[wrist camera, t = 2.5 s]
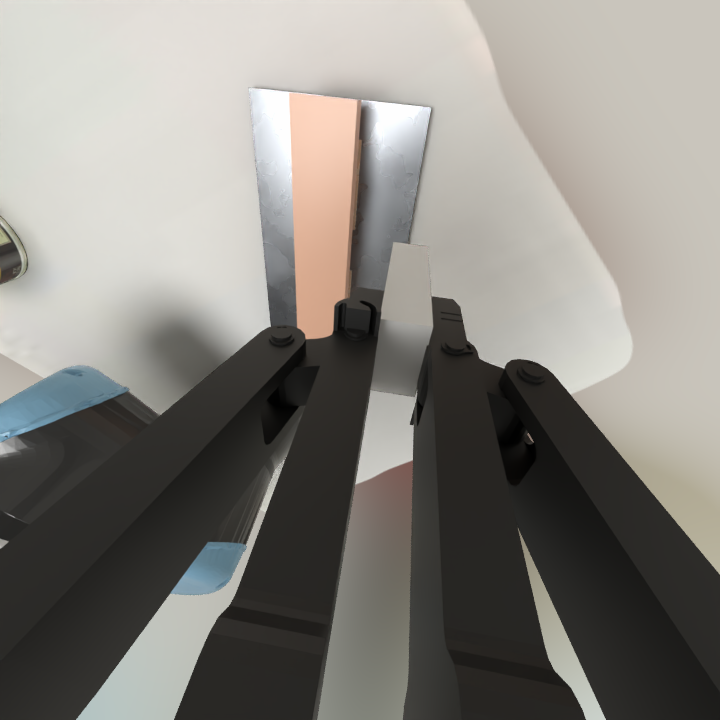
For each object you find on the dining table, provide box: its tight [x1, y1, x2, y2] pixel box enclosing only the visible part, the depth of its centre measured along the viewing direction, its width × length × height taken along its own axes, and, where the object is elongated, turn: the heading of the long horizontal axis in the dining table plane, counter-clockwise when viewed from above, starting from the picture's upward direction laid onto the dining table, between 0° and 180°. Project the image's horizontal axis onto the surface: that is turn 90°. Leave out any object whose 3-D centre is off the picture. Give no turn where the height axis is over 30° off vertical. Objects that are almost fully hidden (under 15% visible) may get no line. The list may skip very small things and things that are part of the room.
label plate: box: [249, 88, 431, 328], centre depth 33 cm, size 26×14×4 cm, turn 175°
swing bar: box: [289, 93, 362, 339], centre depth 30 cm, size 26×4×3 cm, turn 175°
